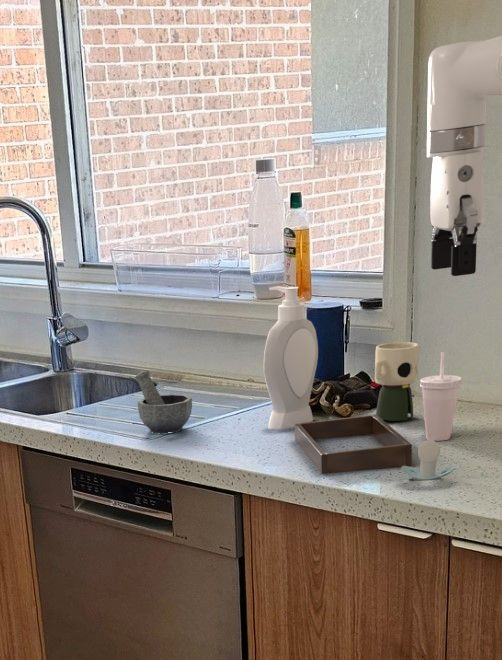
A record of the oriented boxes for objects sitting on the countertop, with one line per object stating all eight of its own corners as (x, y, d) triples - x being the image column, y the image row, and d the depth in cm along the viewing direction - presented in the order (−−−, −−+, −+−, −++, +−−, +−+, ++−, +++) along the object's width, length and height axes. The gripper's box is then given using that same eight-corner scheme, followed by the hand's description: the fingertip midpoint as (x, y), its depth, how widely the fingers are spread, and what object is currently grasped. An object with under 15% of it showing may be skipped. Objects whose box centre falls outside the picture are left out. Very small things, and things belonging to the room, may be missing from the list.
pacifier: (450, 491, 174) (455, 479, 179) (452, 449, 171) (457, 437, 176) (396, 490, 177) (403, 477, 182) (397, 448, 175) (404, 436, 179)
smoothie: (419, 443, 198) (423, 356, 193) (415, 434, 204) (419, 349, 198) (461, 441, 197) (466, 353, 191) (456, 432, 202) (461, 346, 197)
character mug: (392, 429, 210) (395, 352, 205) (357, 424, 215) (359, 349, 210) (430, 415, 215) (434, 341, 210) (396, 411, 221) (399, 338, 215)
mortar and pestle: (202, 433, 226) (201, 368, 221) (172, 445, 220) (169, 378, 216) (154, 428, 234) (152, 365, 229) (123, 439, 228) (120, 375, 223)
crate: (376, 434, 208) (376, 414, 207) (411, 466, 187) (412, 444, 186) (295, 443, 209) (294, 423, 208) (321, 476, 189) (321, 454, 188)
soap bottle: (296, 416, 228) (296, 280, 218) (327, 421, 222) (329, 282, 212) (244, 430, 222) (242, 291, 212) (275, 435, 216) (274, 293, 206)
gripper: (505, 138, 160) (500, 273, 167) (464, 138, 176) (461, 262, 182) (446, 146, 161) (443, 281, 167) (411, 146, 176) (409, 269, 183)
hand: (452, 271), depth 175 cm, fingers open, 9 cm apart
